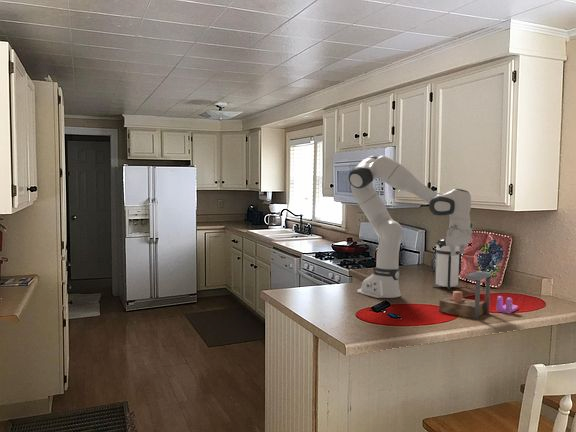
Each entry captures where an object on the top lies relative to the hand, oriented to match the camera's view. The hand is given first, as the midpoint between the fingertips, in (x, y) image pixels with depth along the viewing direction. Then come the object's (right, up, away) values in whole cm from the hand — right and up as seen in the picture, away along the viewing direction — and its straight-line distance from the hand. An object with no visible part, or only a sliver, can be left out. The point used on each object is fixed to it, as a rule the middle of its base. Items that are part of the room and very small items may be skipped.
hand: (457, 254), depth 230 cm
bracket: (+24, -26, +2) cm, 36 cm away
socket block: (+1, -26, -3) cm, 26 cm away
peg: (-1, -26, -2) cm, 26 cm away
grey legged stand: (+6, -26, -8) cm, 28 cm away
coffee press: (+11, -22, +49) cm, 55 cm away
